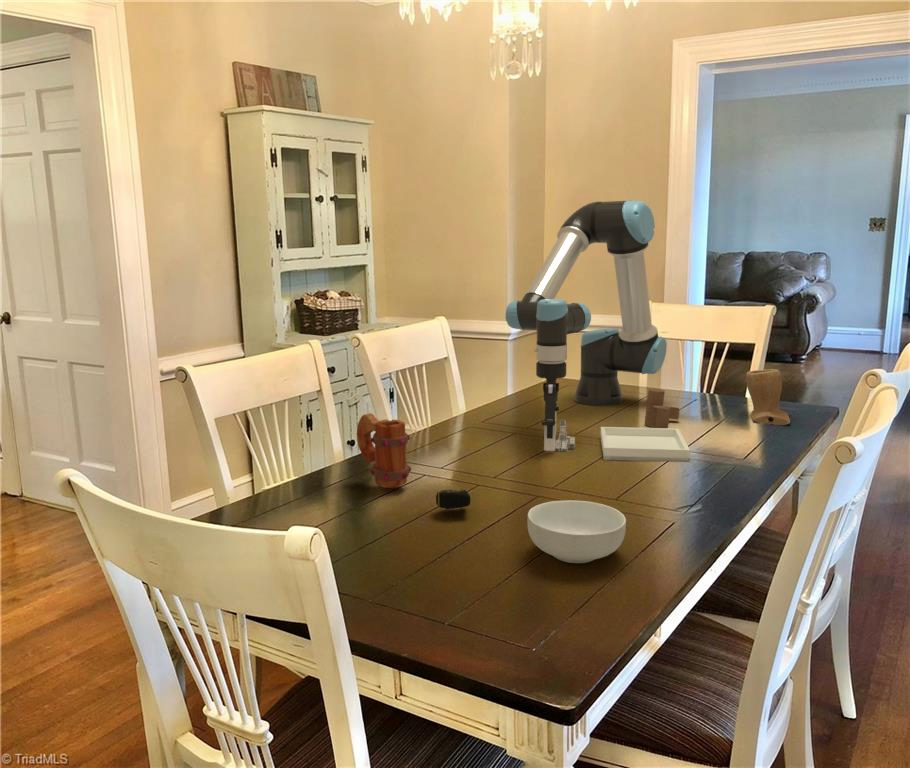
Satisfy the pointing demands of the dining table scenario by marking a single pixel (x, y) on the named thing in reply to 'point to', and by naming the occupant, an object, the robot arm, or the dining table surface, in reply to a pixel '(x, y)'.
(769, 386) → the brown upright flared piece
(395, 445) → the mug
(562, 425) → the house of cards
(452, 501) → the tape measure
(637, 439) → the tray
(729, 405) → the dining table surface
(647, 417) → the wooden block set
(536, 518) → the cereal bowl
